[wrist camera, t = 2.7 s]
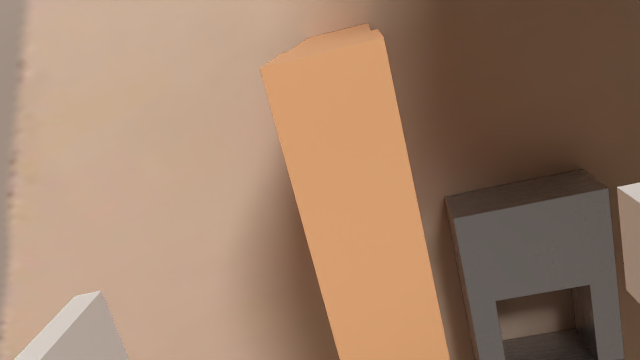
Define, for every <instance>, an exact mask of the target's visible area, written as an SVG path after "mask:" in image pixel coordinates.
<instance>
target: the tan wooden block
mask: <svg viewBox="0 0 640 360" xmlns="http://www.w3.org/2000/svg"><path fill="white" fill-rule="evenodd" d="M260 71H261V75H262V78H263V82H264V86H265V89H266V93H267V97H268V100H269V104H270V108H271V111H272V115H273V118H274V122H275V126H276V129H277V133H278V137H279V140H280V144H281V148H282V151H283V155H284V158H285V162H286V166H287V169H288V173H289V177H290V180H291V184H292V188H293V191H294V195H295V199H296V202H297V206H298V209H299V213H300V217H301V220H302V224H303V228H304V231H305V235H306V239H307V242H308V246H309V250H310V253H311V257H312V260H313V264H314V268H315V271H316V275H317V279H318V282H319V286H320V290H321V293H322V297H323V300H324V304H325V308H326V311H327V315H328V319H329V322H330V326H331V330H332V333H333V337H334V341H335V344H336V348H337V351H338V355H339V359H340V360H450V358H449V353H448V349H447V344H446V339H445V334H444V329H443V324H442V319H441V314H440V309H439V305H438V300H437V295H436V290H435V285H434V280H433V275H432V270H431V266H430V261H429V256H428V251H427V246H426V241H425V236H424V231H423V227H422V222H421V217H420V212H419V207H418V202H417V197H416V192H415V188H414V183H413V178H412V173H411V168H410V163H409V158H408V153H407V149H406V144H405V139H404V134H403V129H402V124H401V119H400V114H399V110H398V105H397V100H396V95H395V90H394V85H393V80H392V75H391V70H390V66H389V61H388V56H387V51H386V46H385V41H384V37H383V36H382V34H381V33H380V31H379V30H378V29H375V30H370V27H369V25H368V23H366V24H362V25H358V26H354V27H350V28H346V29H342V30H338V31H334V32H330V33H326V34H322V35H319V36H315V37H311V38H307V39H306V40H304V41H303V42H301V43H300V44H299V45H297V46H296V47H295V48H293V49H292V50H290V51H287V52H283V53H282V54H280V55H279V56H277V57H276V58H274V59H273V60H271V61H270V62H268V63H267V64H266V65H264V66H263V67H261V68H260Z"/></svg>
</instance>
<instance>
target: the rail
mask: <svg viewBox="0 0 640 360" xmlns="http://www.w3.org/2000/svg"><path fill="white" fill-rule="evenodd" d="M444 199H445V204H446V209H447V214H448V220H449V225H450V230H451V236H452V241H453V246H454V252H455V257H456V262H457V267H458V273H459V278H460V283H461V289H462V294H463V299H464V304H465V310H466V315H467V320H468V326H469V331H470V336H471V341H472V347H473V352H474V357H475V360H625V359H624V348H623V338H622V327H621V317H620V306H619V295H618V285H617V274H616V264H615V253H614V242H613V232H612V221H611V211H610V200H609V190H608V188H607V187H606V186H605V185H603V184H602V183H601V182H599V181H598V180H597V179H595V178H594V177H593V176H591V175H590V174H589V173H587V172H586V171H585V170H583V169H580V170H575V171H570V172H565V173H560V174H555V175H551V176H546V177H541V178H536V179H531V180H526V181H521V182H516V183H511V184H506V185H501V186H496V187H491V188H486V189H482V190H477V191H472V192H467V193H462V194H457V195H452V196H447V197H444ZM568 288H571V291H572V299H573V307H574V315H575V323H576V329H570V330H564V331H558V332H552V333H546V334H540V335H534V336H528V337H522V338H516V339H510V340H503V341H502V338H501V332H500V326H499V320H498V314H497V308H496V302H495V301H499V300H505V299H511V298H516V297H522V296H528V295H534V294H539V293H545V292H551V291H557V290H562V289H568Z"/></svg>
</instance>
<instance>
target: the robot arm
mask: <svg viewBox="0 0 640 360" xmlns="http://www.w3.org/2000/svg"><path fill="white" fill-rule="evenodd" d="M617 194H618V205H619V216H620V227H621V238H622V249H623V260H624V271H625V281H626V290H627V291H628V292H629V293H630V294H631V295H632V296H633V297H634V299H635V300H636V301H637V302H638V303H639V304H640V183H635V184H630V185H625V186H620V187H617ZM14 360H129V357H128V355H127V352H126V350H125V348H124V345H123V343H122V340H121V338H120V335H119V333H118V330H117V328H116V325H115V323H114V320H113V318H112V315H111V313H110V310H109V308H108V305H107V303H106V301H105V298H104V296H103V293H102V291H97V292H92V293H87V294H82V295H77V296H74V298H73V299H72V300H71V301H70V302H69V303H68V304H67V305H66V306H65V307H64V308H63V309H62V310H61V311H60V312H59V313H58V314H57V315H56V316H55V317H54V318H53V319H52V320H51V321H50V323H49V324H48V325H47V326H46V327H45V328H44V329H43V330H42V331H41V332H40V333H39V334H38V335H37V336H36V337H35V338H34V339H33V340H32V341H31V342H30V343H29V344H28V345H27V346H26V348H25V349H24V350H23V351H22V352H21V353H20V354H19V355H18V356H17V357H16V358H15V359H14Z"/></svg>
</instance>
